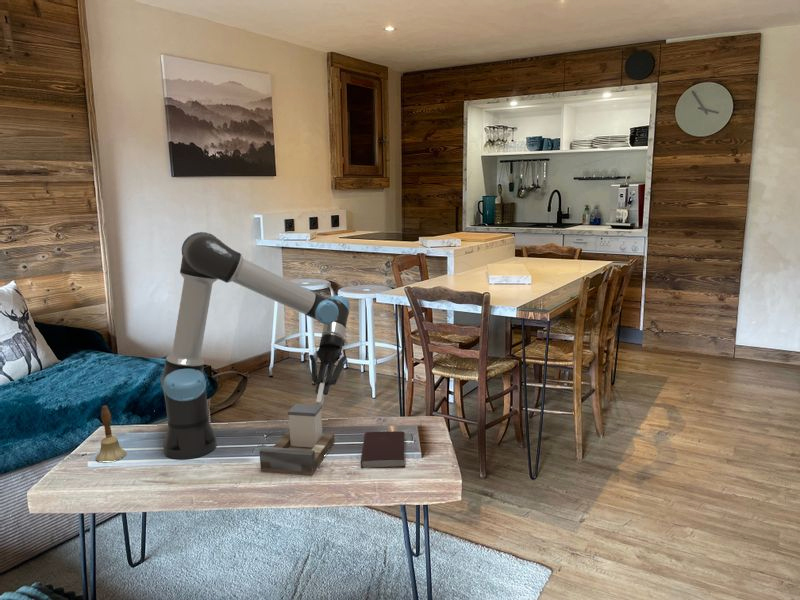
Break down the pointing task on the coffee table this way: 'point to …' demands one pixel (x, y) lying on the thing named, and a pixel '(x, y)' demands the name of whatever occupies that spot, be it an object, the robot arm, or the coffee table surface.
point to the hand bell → (109, 440)
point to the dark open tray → (318, 456)
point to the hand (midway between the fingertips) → (319, 403)
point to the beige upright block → (305, 425)
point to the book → (383, 450)
